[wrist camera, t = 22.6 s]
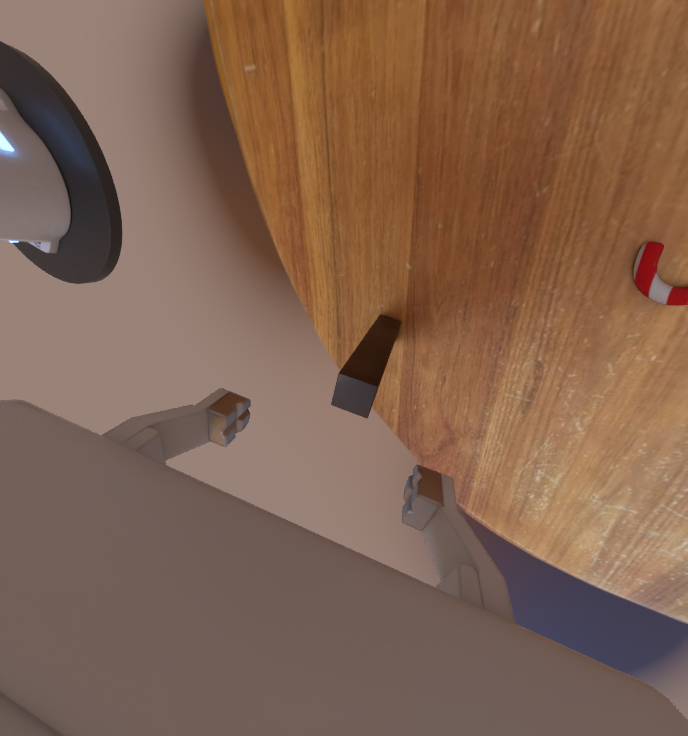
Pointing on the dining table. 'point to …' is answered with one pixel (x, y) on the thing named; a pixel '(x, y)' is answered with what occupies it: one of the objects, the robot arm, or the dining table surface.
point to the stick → (366, 368)
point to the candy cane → (655, 277)
